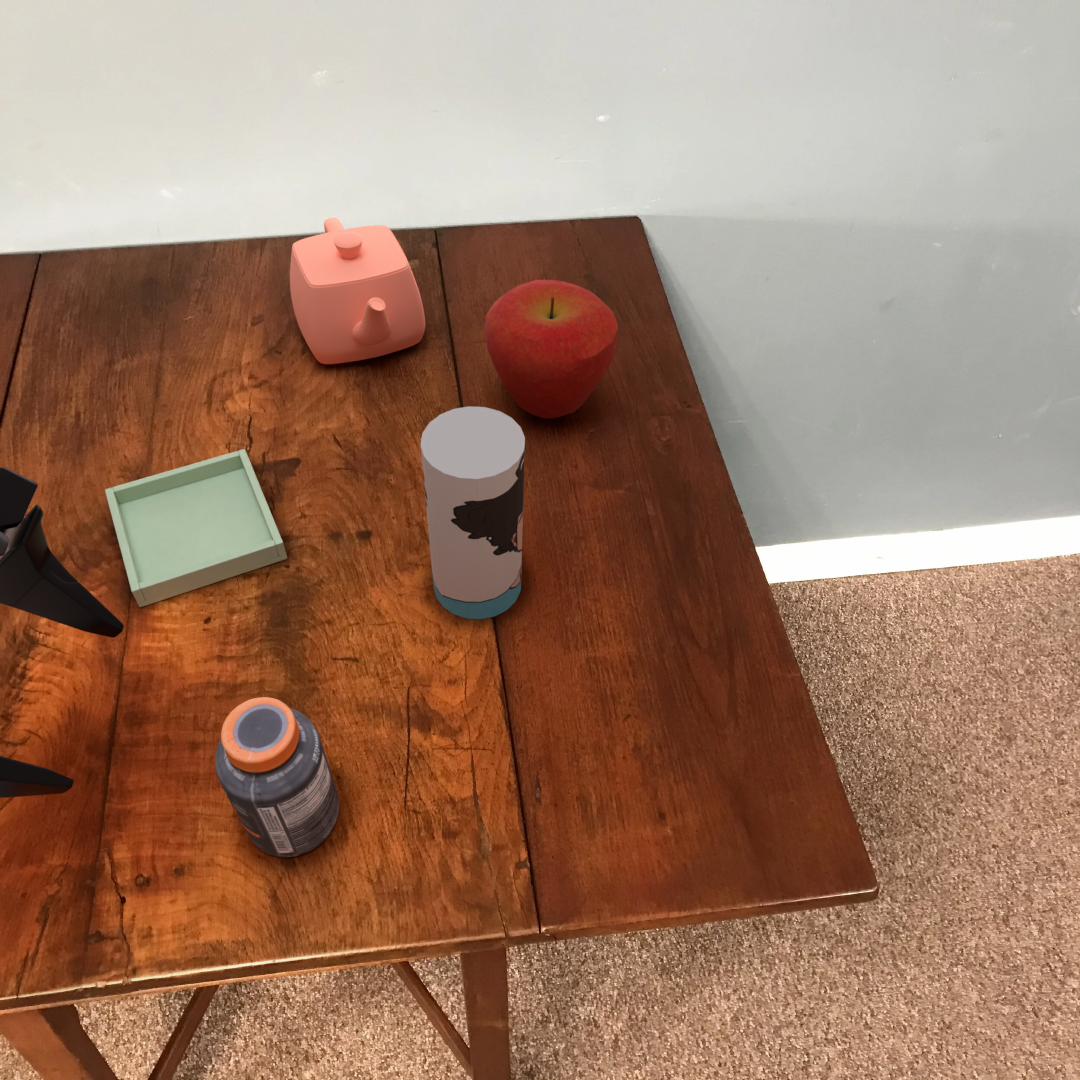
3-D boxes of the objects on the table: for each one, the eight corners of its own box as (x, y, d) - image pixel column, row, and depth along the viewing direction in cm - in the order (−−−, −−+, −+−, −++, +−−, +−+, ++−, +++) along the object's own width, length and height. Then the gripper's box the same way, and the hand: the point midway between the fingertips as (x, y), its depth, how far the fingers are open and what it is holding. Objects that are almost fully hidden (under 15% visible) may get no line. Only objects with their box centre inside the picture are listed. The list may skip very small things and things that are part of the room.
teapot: (393, 275, 98) (384, 181, 90) (450, 382, 87) (444, 286, 79) (283, 298, 94) (263, 203, 86) (328, 411, 84) (310, 314, 76)
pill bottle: (238, 787, 61) (194, 696, 52) (329, 759, 62) (301, 666, 53) (254, 873, 57) (209, 792, 48) (350, 841, 58) (324, 756, 50)
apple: (632, 402, 86) (647, 290, 77) (558, 465, 80) (565, 353, 71) (538, 351, 90) (542, 240, 81) (463, 408, 85) (457, 295, 75)
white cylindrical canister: (535, 601, 71) (542, 460, 59) (452, 631, 69) (443, 491, 57) (500, 539, 75) (500, 395, 63) (420, 565, 73) (405, 422, 61)
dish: (139, 607, 69) (131, 591, 68) (112, 506, 76) (104, 489, 74) (287, 558, 73) (283, 542, 71) (249, 465, 79) (244, 448, 78)
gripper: (-332, 693, 30) (126, 831, 39) (-90, 331, 42) (217, 499, 51) (-404, 802, 36) (9, 900, 45) (-173, 456, 48) (115, 587, 57)
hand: (96, 704), depth 49 cm, fingers open, 9 cm apart
